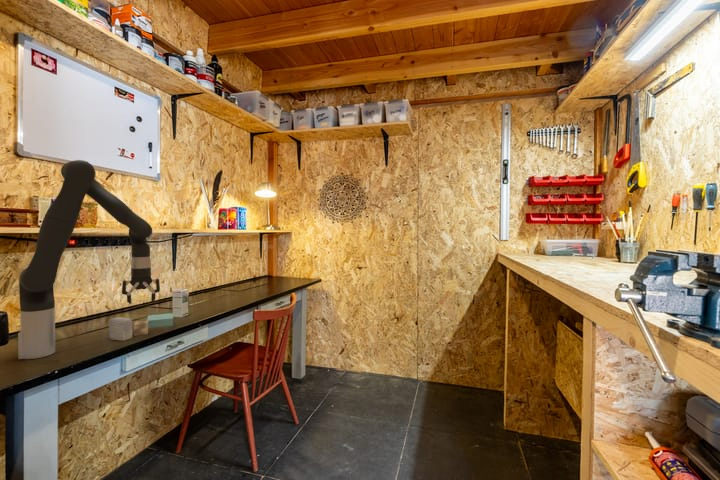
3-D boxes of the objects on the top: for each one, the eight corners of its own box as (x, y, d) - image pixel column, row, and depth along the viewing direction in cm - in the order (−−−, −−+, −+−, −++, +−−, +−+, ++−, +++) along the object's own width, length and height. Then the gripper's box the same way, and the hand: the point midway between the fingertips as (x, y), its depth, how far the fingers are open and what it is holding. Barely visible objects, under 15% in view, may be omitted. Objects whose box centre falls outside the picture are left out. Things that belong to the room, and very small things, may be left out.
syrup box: (182, 317, 179) (182, 290, 178) (172, 316, 180) (172, 290, 179) (189, 314, 184) (189, 288, 184) (179, 314, 185) (179, 288, 185)
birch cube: (134, 335, 148) (134, 324, 148) (135, 332, 152) (135, 321, 152) (147, 334, 150) (147, 323, 150) (148, 331, 155) (148, 320, 155)
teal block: (146, 329, 159) (146, 320, 159) (148, 323, 168) (148, 315, 168) (173, 326, 164) (173, 318, 164) (173, 320, 174) (173, 313, 174)
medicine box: (132, 338, 145) (132, 318, 144) (122, 341, 140) (122, 321, 140) (118, 336, 147) (118, 316, 147) (108, 339, 143) (108, 319, 142)
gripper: (120, 268, 144) (121, 305, 144) (159, 267, 150) (159, 302, 151) (123, 266, 150) (123, 302, 151) (159, 265, 157) (160, 299, 158)
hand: (141, 302), depth 151 cm, fingers open, 8 cm apart
